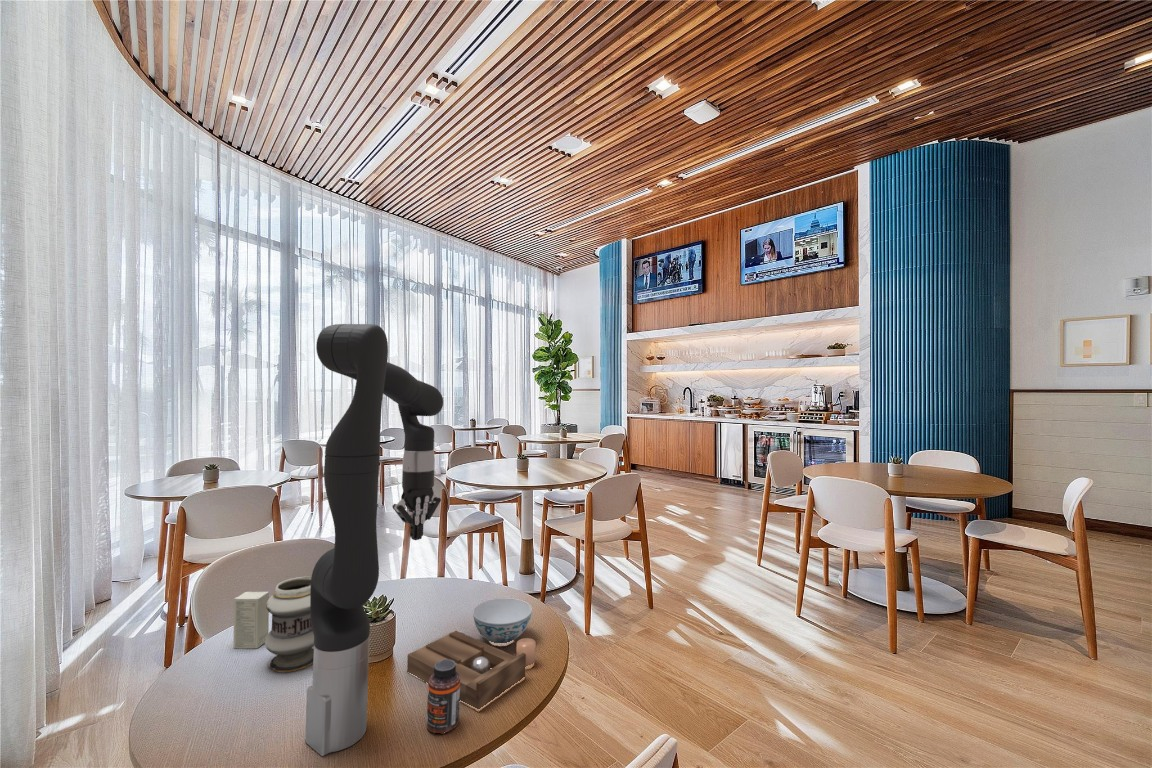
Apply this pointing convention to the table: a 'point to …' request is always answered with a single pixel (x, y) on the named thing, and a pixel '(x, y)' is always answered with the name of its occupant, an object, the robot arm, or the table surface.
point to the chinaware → (502, 619)
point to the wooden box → (463, 652)
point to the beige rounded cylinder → (526, 649)
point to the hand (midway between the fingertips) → (416, 539)
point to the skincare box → (250, 619)
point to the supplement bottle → (443, 697)
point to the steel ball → (480, 665)
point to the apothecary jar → (290, 625)
